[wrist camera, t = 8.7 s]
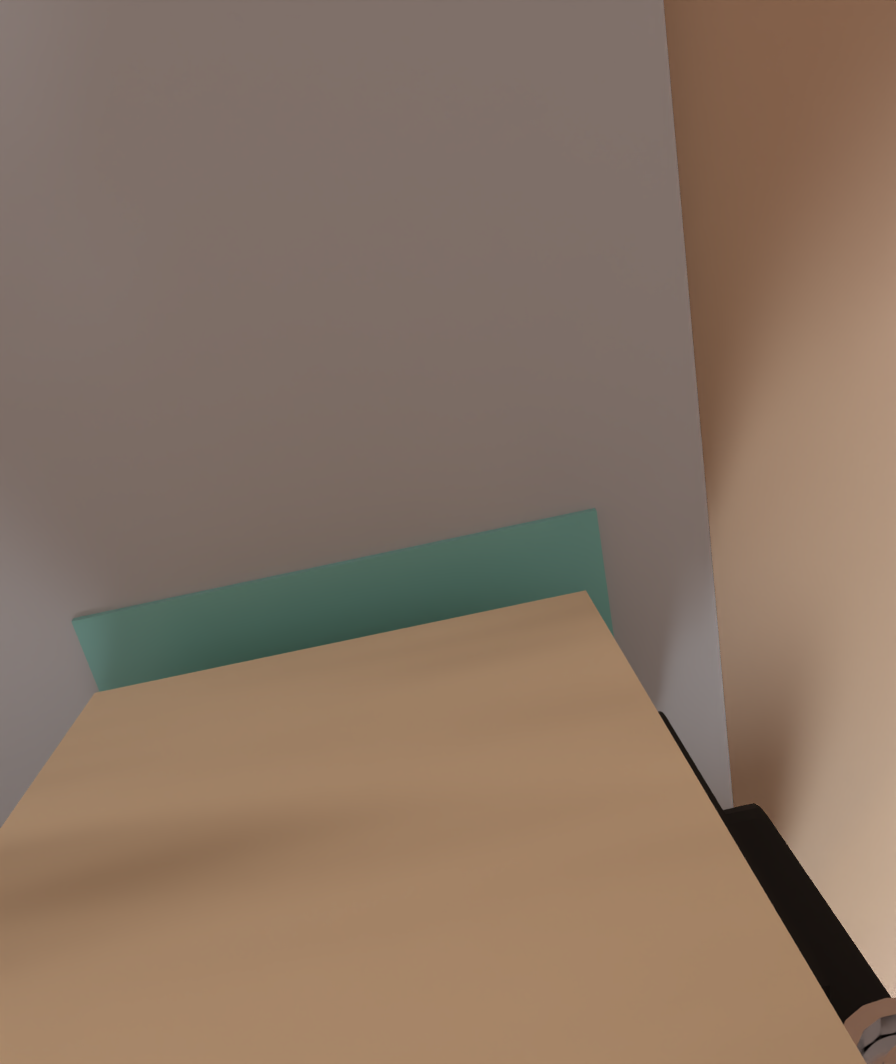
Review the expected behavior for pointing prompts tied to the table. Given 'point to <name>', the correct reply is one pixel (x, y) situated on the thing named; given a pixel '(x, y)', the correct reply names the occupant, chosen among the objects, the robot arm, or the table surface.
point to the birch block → (394, 869)
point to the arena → (340, 342)
